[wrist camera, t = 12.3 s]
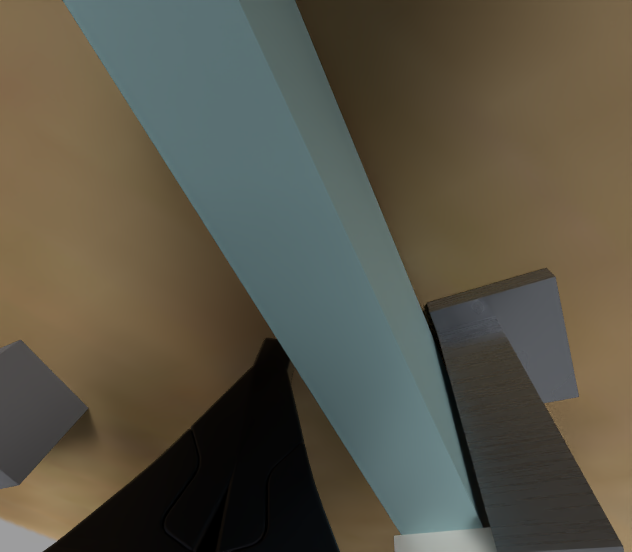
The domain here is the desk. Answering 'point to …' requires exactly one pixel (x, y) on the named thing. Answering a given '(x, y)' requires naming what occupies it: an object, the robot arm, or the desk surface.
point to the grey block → (520, 414)
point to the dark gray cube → (30, 412)
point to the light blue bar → (301, 237)
